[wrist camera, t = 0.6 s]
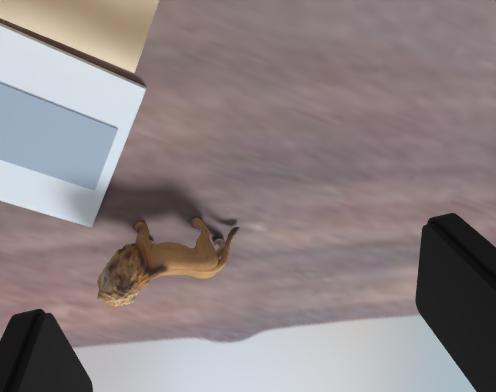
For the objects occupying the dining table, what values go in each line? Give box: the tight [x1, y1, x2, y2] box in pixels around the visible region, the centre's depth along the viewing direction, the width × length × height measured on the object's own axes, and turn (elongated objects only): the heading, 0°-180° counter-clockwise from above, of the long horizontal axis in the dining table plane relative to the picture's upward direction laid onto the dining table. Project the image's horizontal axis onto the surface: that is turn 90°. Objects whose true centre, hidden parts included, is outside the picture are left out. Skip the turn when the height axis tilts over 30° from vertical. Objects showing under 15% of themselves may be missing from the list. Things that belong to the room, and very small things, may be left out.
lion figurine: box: [97, 218, 240, 307], centre depth 41 cm, size 15×5×9 cm, turn 95°
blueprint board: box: [0, 23, 146, 227], centre depth 36 cm, size 16×16×1 cm
